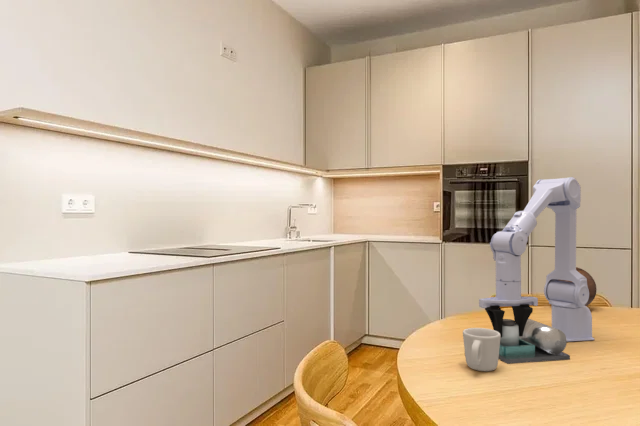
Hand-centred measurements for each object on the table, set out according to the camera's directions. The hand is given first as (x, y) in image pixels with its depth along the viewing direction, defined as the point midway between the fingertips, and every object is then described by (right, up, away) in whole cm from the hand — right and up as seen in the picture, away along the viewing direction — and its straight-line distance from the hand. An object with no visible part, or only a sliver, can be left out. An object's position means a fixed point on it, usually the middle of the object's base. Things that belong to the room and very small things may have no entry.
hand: (508, 335), depth 110 cm
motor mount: (+3, -4, +1) cm, 6 cm away
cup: (-11, -5, -11) cm, 16 cm away
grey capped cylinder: (0, -2, 0) cm, 2 cm away
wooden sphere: (+44, -4, +51) cm, 67 cm away
